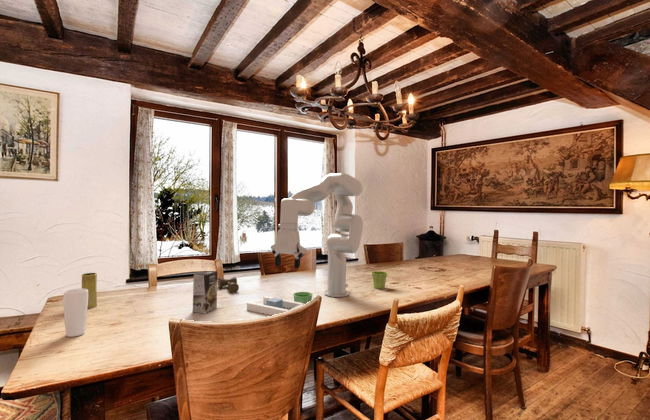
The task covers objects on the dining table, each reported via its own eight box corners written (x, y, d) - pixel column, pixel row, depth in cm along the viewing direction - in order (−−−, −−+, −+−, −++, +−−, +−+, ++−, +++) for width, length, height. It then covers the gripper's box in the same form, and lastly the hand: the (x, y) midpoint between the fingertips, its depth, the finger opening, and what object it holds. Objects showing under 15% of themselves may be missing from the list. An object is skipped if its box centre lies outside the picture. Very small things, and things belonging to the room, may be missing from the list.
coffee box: (206, 313, 136) (206, 275, 136) (192, 312, 137) (192, 274, 137) (217, 307, 145) (218, 270, 145) (204, 306, 146) (204, 270, 146)
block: (273, 307, 146) (273, 297, 146) (282, 309, 144) (282, 299, 144) (266, 310, 142) (266, 300, 142) (275, 312, 139) (275, 302, 139)
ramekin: (299, 307, 147) (299, 297, 147) (289, 302, 154) (289, 293, 154) (316, 304, 152) (316, 295, 152) (305, 299, 160) (305, 290, 160)
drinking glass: (71, 330, 115) (72, 288, 115) (92, 330, 115) (92, 288, 115) (57, 338, 108) (58, 293, 108) (79, 338, 109) (80, 293, 108)
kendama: (224, 295, 167) (215, 285, 184) (243, 293, 172) (232, 284, 189) (225, 283, 167) (216, 274, 184) (243, 282, 172) (233, 273, 189)
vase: (100, 305, 144) (101, 273, 144) (86, 309, 138) (87, 275, 138) (90, 303, 146) (91, 272, 146) (76, 307, 140) (76, 274, 140)
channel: (266, 302, 153) (266, 296, 153) (306, 310, 142) (306, 303, 142) (246, 309, 142) (246, 302, 142) (289, 319, 131) (289, 311, 131)
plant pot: (367, 288, 185) (368, 272, 185) (375, 285, 193) (375, 270, 193) (383, 290, 180) (383, 275, 180) (390, 287, 188) (390, 272, 188)
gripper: (267, 226, 141) (265, 266, 141) (301, 228, 133) (299, 270, 133) (277, 226, 148) (275, 264, 148) (310, 228, 140) (309, 268, 140)
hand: (287, 267), depth 140 cm, fingers open, 9 cm apart
